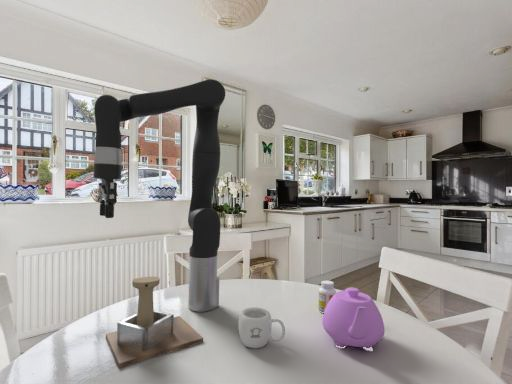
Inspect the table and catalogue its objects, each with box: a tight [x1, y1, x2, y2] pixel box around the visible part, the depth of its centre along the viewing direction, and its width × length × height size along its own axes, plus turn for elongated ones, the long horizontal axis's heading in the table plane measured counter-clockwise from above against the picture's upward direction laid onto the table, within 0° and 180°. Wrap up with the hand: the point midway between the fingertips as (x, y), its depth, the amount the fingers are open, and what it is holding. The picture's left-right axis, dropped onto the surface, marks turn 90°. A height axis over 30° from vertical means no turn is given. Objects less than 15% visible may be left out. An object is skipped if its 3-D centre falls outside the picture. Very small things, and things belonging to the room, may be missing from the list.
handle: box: [132, 276, 160, 328], centre depth 74 cm, size 5×6×15 cm
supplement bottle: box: [318, 280, 337, 313], centre depth 96 cm, size 5×5×10 cm
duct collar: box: [116, 309, 175, 352], centre depth 75 cm, size 10×9×5 cm
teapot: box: [321, 286, 386, 348], centre depth 77 cm, size 22×16×14 cm
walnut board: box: [105, 315, 204, 369], centre depth 76 cm, size 20×16×1 cm
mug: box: [238, 307, 286, 349], centre depth 75 cm, size 12×8×8 cm
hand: (106, 216), depth 89 cm, fingers open, 8 cm apart
